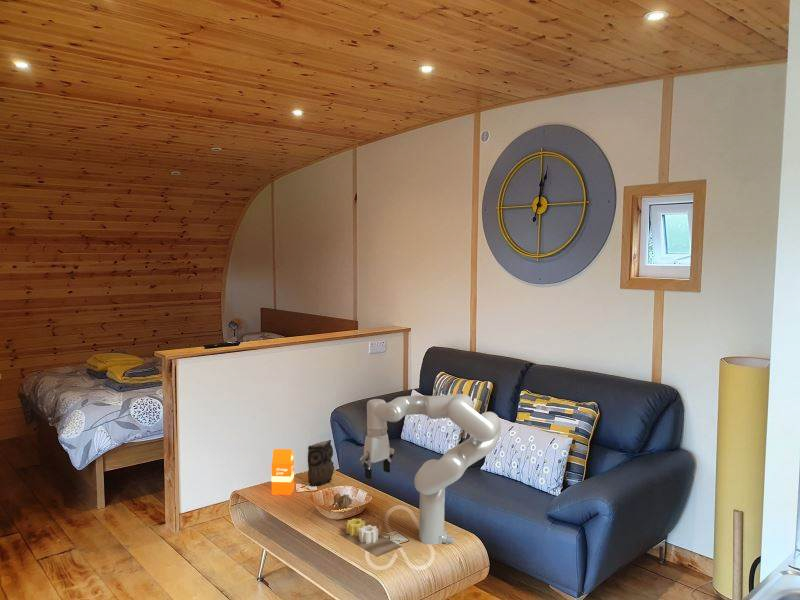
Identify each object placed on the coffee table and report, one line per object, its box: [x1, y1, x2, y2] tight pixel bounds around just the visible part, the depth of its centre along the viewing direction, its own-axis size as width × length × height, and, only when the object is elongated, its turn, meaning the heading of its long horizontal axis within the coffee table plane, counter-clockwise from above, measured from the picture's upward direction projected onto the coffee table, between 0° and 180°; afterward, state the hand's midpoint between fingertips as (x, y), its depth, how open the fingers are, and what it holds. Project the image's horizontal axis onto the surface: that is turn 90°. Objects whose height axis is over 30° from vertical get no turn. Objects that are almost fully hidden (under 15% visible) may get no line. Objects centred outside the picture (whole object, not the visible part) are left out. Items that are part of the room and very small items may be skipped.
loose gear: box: [359, 524, 379, 544], centre depth 233 cm, size 7×7×4 cm
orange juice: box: [271, 448, 295, 496], centre depth 282 cm, size 8×9×20 cm
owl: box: [307, 439, 335, 488], centre depth 293 cm, size 13×13×20 cm
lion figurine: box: [333, 492, 353, 510], centre depth 261 cm, size 15×5×9 cm, turn 35°
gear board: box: [337, 530, 403, 558], centre depth 232 cm, size 24×12×4 cm, turn 41°
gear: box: [346, 517, 366, 536], centre depth 239 cm, size 7×7×4 cm
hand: (377, 474), depth 239 cm, fingers open, 9 cm apart
